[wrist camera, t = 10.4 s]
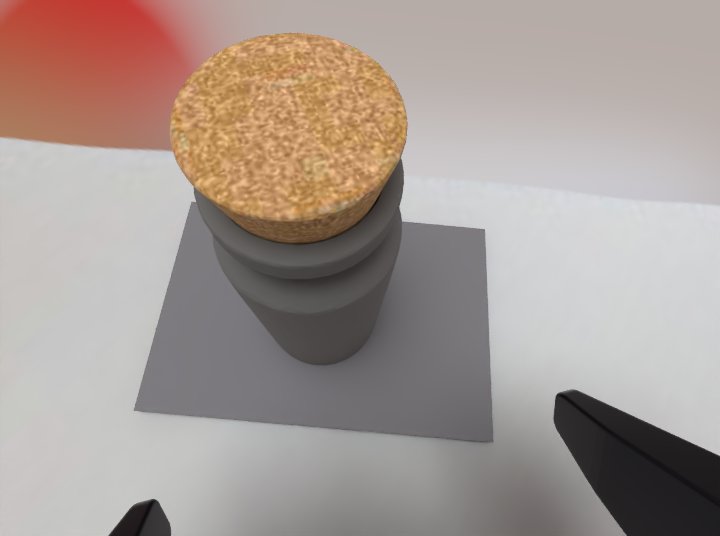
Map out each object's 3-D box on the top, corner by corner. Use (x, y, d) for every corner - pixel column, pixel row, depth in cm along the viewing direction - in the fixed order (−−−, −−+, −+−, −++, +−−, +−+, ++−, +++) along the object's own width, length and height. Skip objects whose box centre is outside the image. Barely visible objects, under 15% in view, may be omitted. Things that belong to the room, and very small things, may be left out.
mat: (481, 233, 25) (484, 229, 24) (488, 441, 20) (493, 442, 20) (194, 206, 24) (191, 201, 24) (139, 410, 20) (133, 410, 19)
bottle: (267, 368, 20) (110, 251, 6) (271, 264, 23) (159, 9, 9) (379, 364, 21) (456, 243, 7) (372, 262, 23) (421, 13, 9)
